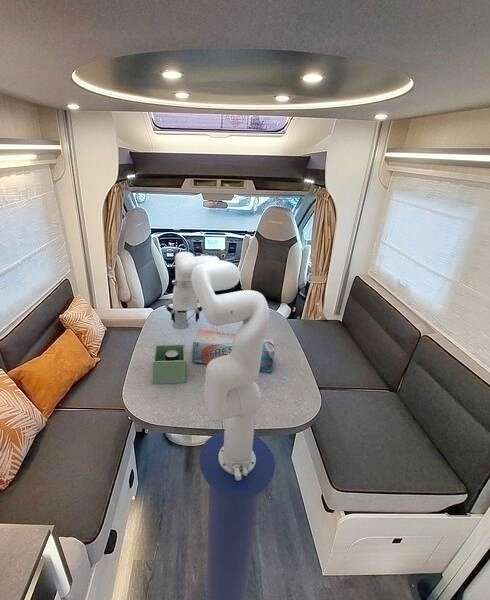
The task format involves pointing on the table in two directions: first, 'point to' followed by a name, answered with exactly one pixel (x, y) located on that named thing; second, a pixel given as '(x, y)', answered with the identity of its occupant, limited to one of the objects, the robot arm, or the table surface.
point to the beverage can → (171, 355)
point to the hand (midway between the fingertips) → (185, 320)
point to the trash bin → (169, 365)
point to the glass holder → (181, 319)
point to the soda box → (226, 348)
